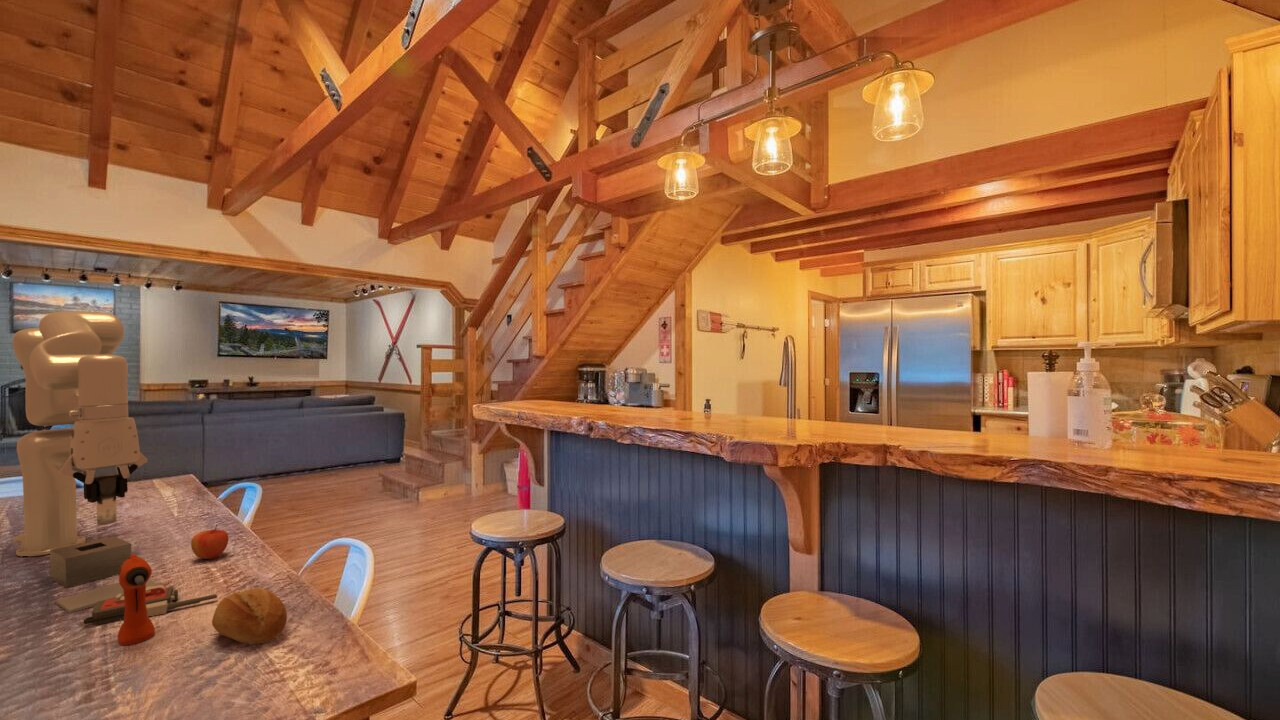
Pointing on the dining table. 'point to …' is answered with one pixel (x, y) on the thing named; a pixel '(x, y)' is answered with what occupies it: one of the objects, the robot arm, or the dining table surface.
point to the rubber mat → (93, 597)
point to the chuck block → (88, 561)
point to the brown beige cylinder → (106, 498)
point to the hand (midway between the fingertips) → (106, 498)
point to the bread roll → (250, 616)
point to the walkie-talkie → (155, 604)
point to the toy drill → (135, 601)
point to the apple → (209, 543)
